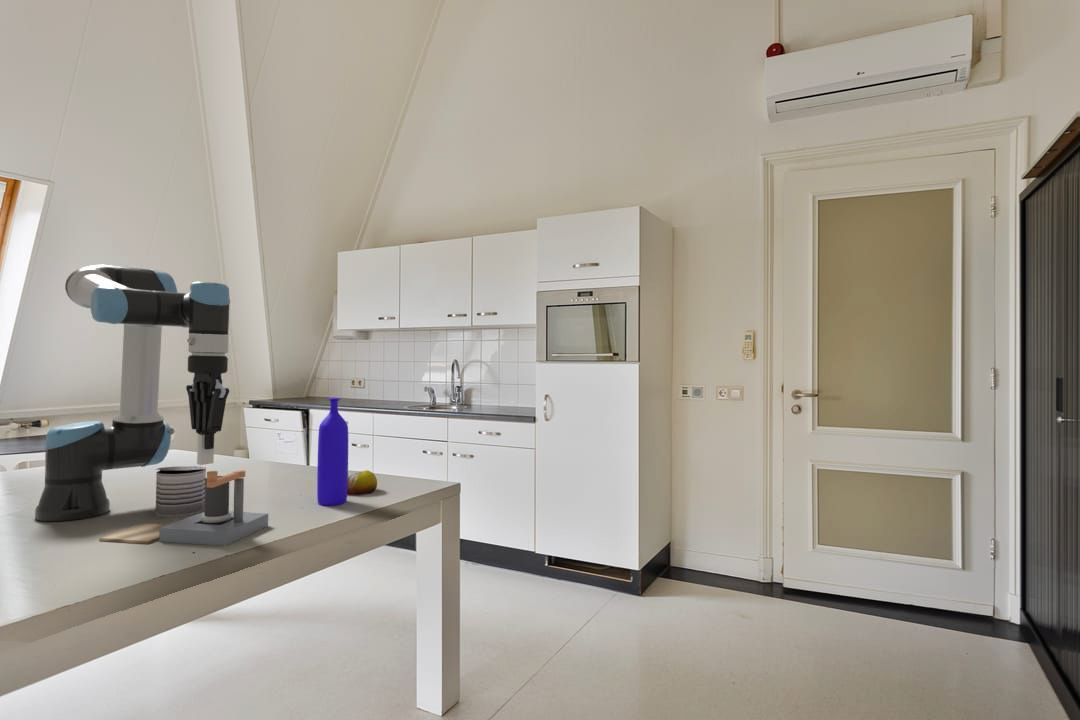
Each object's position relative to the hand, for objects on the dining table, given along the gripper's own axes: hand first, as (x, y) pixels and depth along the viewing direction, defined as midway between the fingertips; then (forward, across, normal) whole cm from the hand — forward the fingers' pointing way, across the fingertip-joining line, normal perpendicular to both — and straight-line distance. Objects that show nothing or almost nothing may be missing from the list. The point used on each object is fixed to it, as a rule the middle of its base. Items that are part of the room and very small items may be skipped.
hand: (205, 463), depth 128 cm
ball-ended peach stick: (+5, -1, +5) cm, 7 cm away
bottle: (+19, -11, +42) cm, 48 cm away
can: (+19, -35, +13) cm, 42 cm away
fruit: (+19, -17, +56) cm, 62 cm away
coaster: (+19, -20, -3) cm, 28 cm away
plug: (+19, -8, +7) cm, 22 cm away
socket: (+19, -8, +7) cm, 22 cm away
